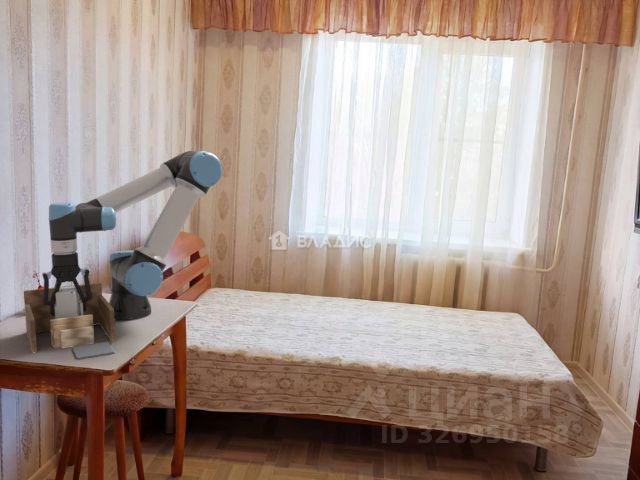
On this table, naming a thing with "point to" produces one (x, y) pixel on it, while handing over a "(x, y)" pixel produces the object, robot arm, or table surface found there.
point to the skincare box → (67, 302)
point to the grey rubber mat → (93, 350)
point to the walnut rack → (41, 317)
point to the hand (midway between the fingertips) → (69, 323)
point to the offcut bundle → (72, 331)
